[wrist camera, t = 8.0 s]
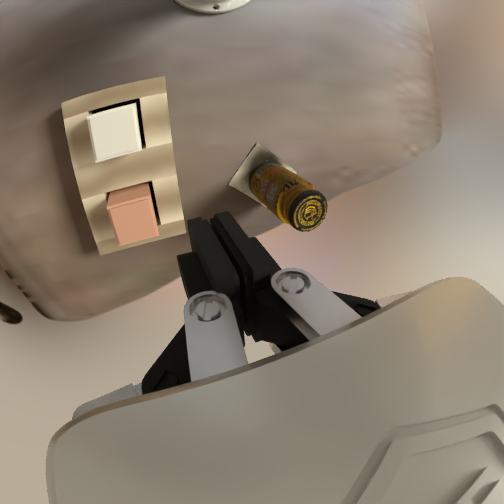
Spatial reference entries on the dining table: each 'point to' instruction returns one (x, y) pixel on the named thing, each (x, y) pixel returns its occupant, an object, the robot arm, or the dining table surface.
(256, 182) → the condiment
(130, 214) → the terracotta key
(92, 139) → the ivory key
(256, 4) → the dining table surface
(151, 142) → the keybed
